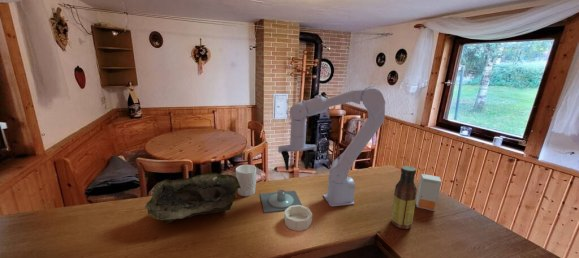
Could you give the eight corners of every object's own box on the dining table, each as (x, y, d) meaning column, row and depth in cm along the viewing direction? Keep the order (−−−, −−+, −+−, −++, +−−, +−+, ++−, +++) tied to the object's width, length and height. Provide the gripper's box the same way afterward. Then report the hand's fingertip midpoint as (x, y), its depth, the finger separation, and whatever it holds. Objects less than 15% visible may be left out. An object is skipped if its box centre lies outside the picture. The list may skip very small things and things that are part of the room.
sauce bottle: (410, 220, 80) (420, 166, 74) (412, 232, 74) (424, 174, 69) (389, 216, 82) (397, 162, 76) (390, 227, 76) (399, 170, 71)
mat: (294, 191, 95) (294, 190, 95) (303, 208, 84) (303, 207, 84) (260, 194, 92) (260, 193, 92) (264, 212, 81) (264, 211, 81)
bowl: (306, 213, 82) (306, 204, 81) (314, 229, 74) (315, 219, 73) (282, 216, 80) (282, 206, 79) (288, 232, 72) (288, 222, 71)
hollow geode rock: (240, 219, 85) (239, 178, 92) (242, 213, 74) (240, 167, 81) (152, 228, 77) (158, 183, 84) (140, 222, 67) (148, 171, 74)
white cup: (258, 187, 97) (258, 165, 95) (253, 198, 90) (253, 174, 87) (239, 186, 98) (239, 163, 95) (233, 196, 90) (232, 172, 88)
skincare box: (416, 207, 87) (422, 178, 84) (415, 201, 91) (420, 173, 88) (435, 211, 85) (442, 181, 82) (433, 205, 89) (439, 176, 86)
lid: (289, 193, 93) (290, 184, 92) (296, 206, 85) (296, 197, 84) (266, 195, 91) (266, 186, 90) (271, 209, 82) (271, 200, 81)
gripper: (313, 131, 94) (311, 163, 97) (277, 132, 90) (276, 165, 94) (319, 136, 87) (317, 170, 91) (280, 138, 84) (279, 173, 87)
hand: (296, 168), depth 92 cm, fingers open, 7 cm apart
